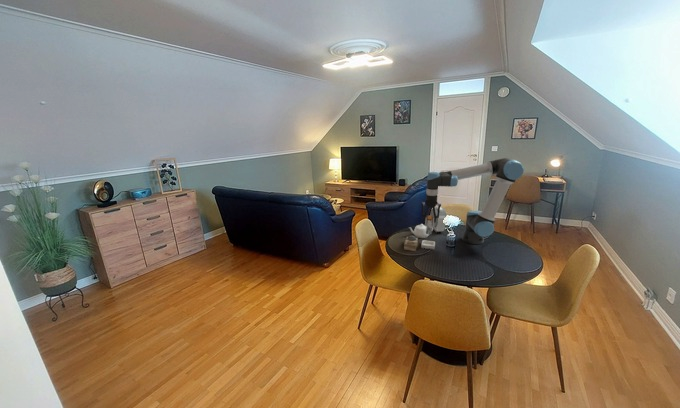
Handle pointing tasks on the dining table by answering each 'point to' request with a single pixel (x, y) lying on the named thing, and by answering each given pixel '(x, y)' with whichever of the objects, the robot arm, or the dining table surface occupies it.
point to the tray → (428, 244)
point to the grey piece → (439, 220)
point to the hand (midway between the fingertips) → (429, 226)
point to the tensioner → (411, 243)
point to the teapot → (420, 231)
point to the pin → (429, 225)
